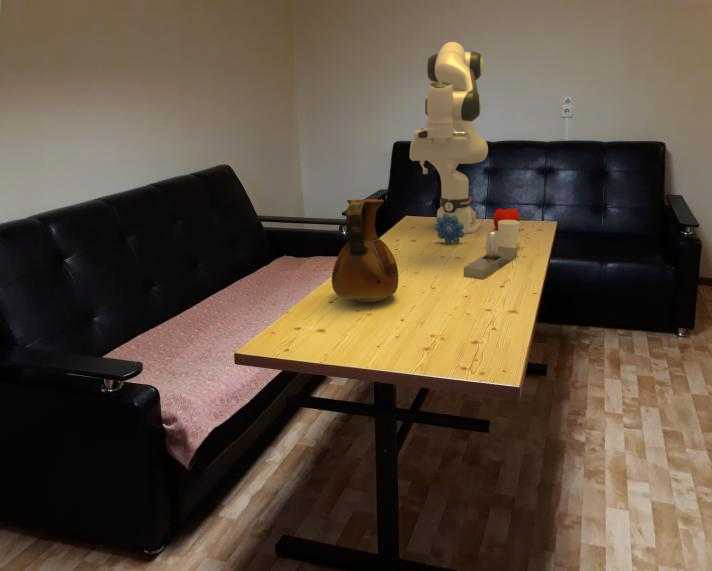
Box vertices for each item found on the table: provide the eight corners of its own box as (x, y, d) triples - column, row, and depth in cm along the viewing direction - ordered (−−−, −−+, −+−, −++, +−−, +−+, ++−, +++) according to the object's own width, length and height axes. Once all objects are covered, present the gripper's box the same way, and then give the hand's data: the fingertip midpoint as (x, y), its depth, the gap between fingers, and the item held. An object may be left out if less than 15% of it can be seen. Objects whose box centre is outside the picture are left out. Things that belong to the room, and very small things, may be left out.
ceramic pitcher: (404, 290, 212) (404, 193, 203) (390, 311, 193) (389, 206, 184) (343, 286, 217) (341, 192, 208) (324, 306, 198) (320, 204, 190)
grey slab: (498, 254, 251) (498, 246, 250) (516, 256, 247) (517, 248, 246) (463, 276, 225) (463, 267, 224) (483, 279, 221) (484, 270, 221)
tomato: (495, 233, 284) (496, 211, 281) (491, 227, 295) (492, 206, 292) (521, 233, 283) (523, 211, 280) (516, 226, 295) (517, 206, 292)
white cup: (516, 245, 263) (518, 219, 260) (519, 250, 256) (520, 224, 253) (496, 245, 264) (497, 219, 261) (498, 250, 257) (499, 224, 254)
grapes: (433, 245, 265) (433, 215, 262) (434, 241, 271) (435, 211, 268) (463, 246, 263) (464, 215, 259) (464, 242, 269) (465, 212, 266)
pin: (488, 263, 239) (489, 230, 235) (498, 265, 237) (500, 231, 233) (483, 266, 236) (484, 232, 232) (494, 268, 234) (496, 233, 230)
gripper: (469, 130, 233) (468, 171, 237) (409, 132, 233) (409, 172, 237) (472, 132, 227) (470, 174, 231) (410, 133, 227) (410, 175, 231)
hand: (439, 173), depth 234 cm, fingers open, 8 cm apart
